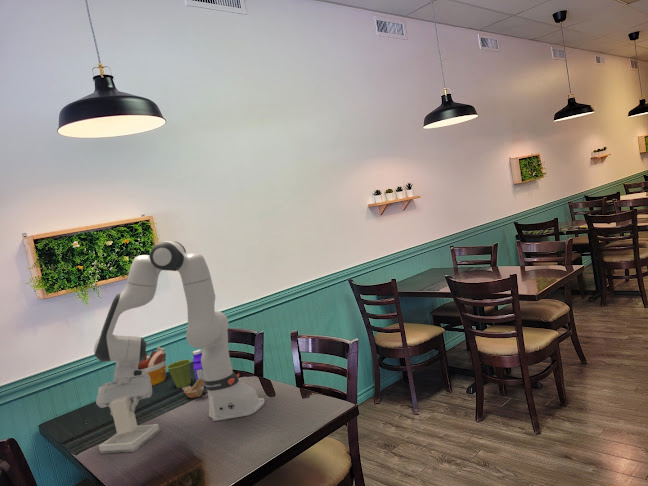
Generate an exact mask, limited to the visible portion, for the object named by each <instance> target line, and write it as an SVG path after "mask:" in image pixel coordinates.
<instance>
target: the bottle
mask: <svg viewBox="0 0 648 486" xmlns="http://www.w3.org/2000/svg"><path fill="white" fill-rule="evenodd" d="M192 355H193V360H192V362H193V372H194V375H195V378H196V382H197V381H198V380H199V378H201V379H203V380H205V377H204V373H203V368H202V364H201V357H202V349H196V350H194V351H192ZM204 387H205V386H204ZM205 388H206V387H205Z"/></svg>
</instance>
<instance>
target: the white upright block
mask: <svg viewBox="0 0 648 486" xmlns="http://www.w3.org/2000/svg"><path fill="white" fill-rule="evenodd" d="M132 404H133V401H131V398H130V397H129V396H125V397H120V398H116V399H114V400H113V401H112V402H111V403H110V405H111V410H112V414H113V416H112V417H113V422H114V426H115V431H116V434H117V435H118V434H123V433H127V432H132V431H133V430H134V429H135V427H136V426H138V424H137V423H138V422H137V419H136V414H135V411H132V412H131V411H130V410H129V408H130V405H132ZM111 410H110V411H111Z"/></svg>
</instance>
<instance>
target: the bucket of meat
mask: <svg viewBox="0 0 648 486" xmlns="http://www.w3.org/2000/svg"><path fill="white" fill-rule="evenodd" d="M156 349H157V350H152V351H151V353H150V355H149V354H148V353H147V352H146V357H145V359H144V360H143V361H142V362H141V363H140V364H139V365H138V370H144V371H146V372H147V373H148V375H149V376H150V382H151V384H152V387H153V386H157V385H159V384H162V383H163V382H165V379H166V377H167V374H166V373H167V372H166V371H167V368H166V367H167V366H166V364H167V360H166V355H167V353H165V352H164V351H166V350H165V348H164V347H160V346H157V347H156Z"/></svg>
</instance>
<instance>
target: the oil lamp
mask: <svg viewBox="0 0 648 486" xmlns="http://www.w3.org/2000/svg"><path fill="white" fill-rule="evenodd" d="M204 386H205V382H204V380H203V379H201V378H199V380H198V381H197V380H196V382H195V383H193V385H192V386H191V385H186V386H185V387H183V388H181V389H182V391H183V393H184V394H185V395H186V397H188V398H189V399H195V398H199V397H200V398H201V396H203V393H204V390H205V388H204Z"/></svg>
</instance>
